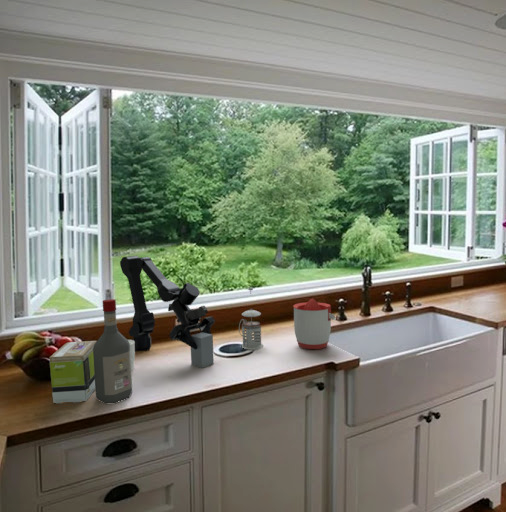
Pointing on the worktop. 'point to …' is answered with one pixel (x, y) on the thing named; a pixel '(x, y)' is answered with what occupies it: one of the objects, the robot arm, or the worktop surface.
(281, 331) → the worktop surface
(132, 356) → the white cup
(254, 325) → the french press
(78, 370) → the tea box
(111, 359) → the liquor
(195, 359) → the grey tall block
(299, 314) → the citrus juicer
